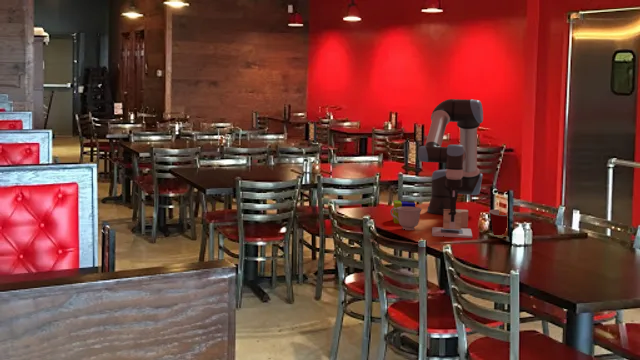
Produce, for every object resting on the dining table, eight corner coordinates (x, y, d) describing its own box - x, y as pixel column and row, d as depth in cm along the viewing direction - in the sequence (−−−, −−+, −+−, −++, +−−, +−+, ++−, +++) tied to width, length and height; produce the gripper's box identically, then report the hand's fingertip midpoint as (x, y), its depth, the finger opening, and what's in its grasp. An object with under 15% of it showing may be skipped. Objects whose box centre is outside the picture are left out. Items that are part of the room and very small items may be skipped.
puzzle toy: (414, 223, 401) (415, 203, 399) (394, 223, 401) (395, 203, 400) (412, 220, 410) (413, 200, 409) (393, 219, 411) (393, 200, 409)
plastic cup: (496, 240, 363) (497, 213, 361) (483, 235, 373) (484, 209, 371) (517, 239, 366) (518, 213, 365) (504, 234, 376) (505, 209, 375)
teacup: (391, 226, 393) (392, 205, 391) (422, 227, 390) (423, 207, 388) (388, 230, 381) (389, 209, 380) (420, 232, 378) (420, 210, 377)
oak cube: (443, 225, 381) (443, 209, 380) (460, 226, 380) (461, 209, 379) (443, 228, 373) (443, 211, 372) (460, 229, 372) (461, 212, 371)
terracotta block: (454, 225, 399) (455, 209, 398) (467, 226, 398) (467, 209, 397) (454, 227, 393) (455, 211, 392) (467, 228, 392) (468, 211, 391)
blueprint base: (432, 229, 387) (432, 226, 387) (470, 230, 384) (470, 228, 384) (432, 235, 369) (432, 233, 369) (472, 237, 367) (472, 235, 366)
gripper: (445, 175, 384) (443, 222, 387) (446, 180, 364) (444, 230, 367) (461, 176, 383) (459, 223, 386) (463, 181, 363) (460, 231, 365)
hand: (451, 226), depth 376 cm, fingers closed on oak cube, 8 cm apart
